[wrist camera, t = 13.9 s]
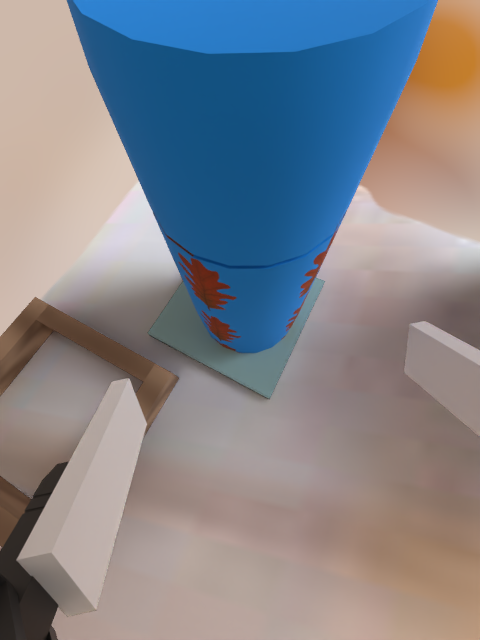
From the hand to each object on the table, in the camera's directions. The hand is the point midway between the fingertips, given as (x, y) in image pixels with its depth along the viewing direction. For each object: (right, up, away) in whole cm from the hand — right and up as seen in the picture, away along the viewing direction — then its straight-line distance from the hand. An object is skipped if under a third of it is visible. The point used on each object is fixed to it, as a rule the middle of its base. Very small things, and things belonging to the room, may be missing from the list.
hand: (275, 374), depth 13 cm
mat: (-2, +4, +19) cm, 20 cm away
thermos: (-1, +4, +18) cm, 19 cm away
